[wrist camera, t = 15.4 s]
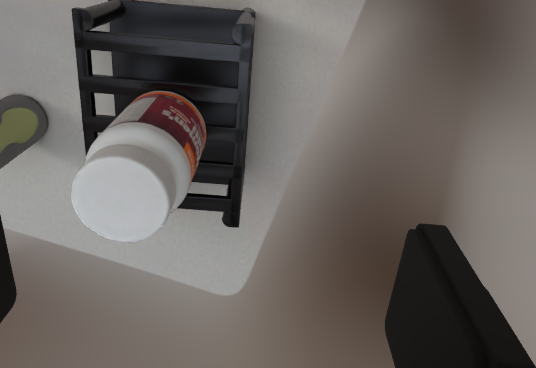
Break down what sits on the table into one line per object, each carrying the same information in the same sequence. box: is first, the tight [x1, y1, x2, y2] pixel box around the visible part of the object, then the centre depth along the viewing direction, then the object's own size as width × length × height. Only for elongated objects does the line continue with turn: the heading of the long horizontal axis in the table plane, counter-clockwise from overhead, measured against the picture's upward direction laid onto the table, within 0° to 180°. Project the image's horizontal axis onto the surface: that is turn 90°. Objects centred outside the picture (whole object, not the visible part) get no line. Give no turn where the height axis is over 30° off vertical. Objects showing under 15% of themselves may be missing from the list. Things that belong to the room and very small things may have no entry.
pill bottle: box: [71, 91, 206, 242], centre depth 29 cm, size 6×6×11 cm
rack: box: [72, 0, 256, 227], centre depth 39 cm, size 12×16×11 cm
